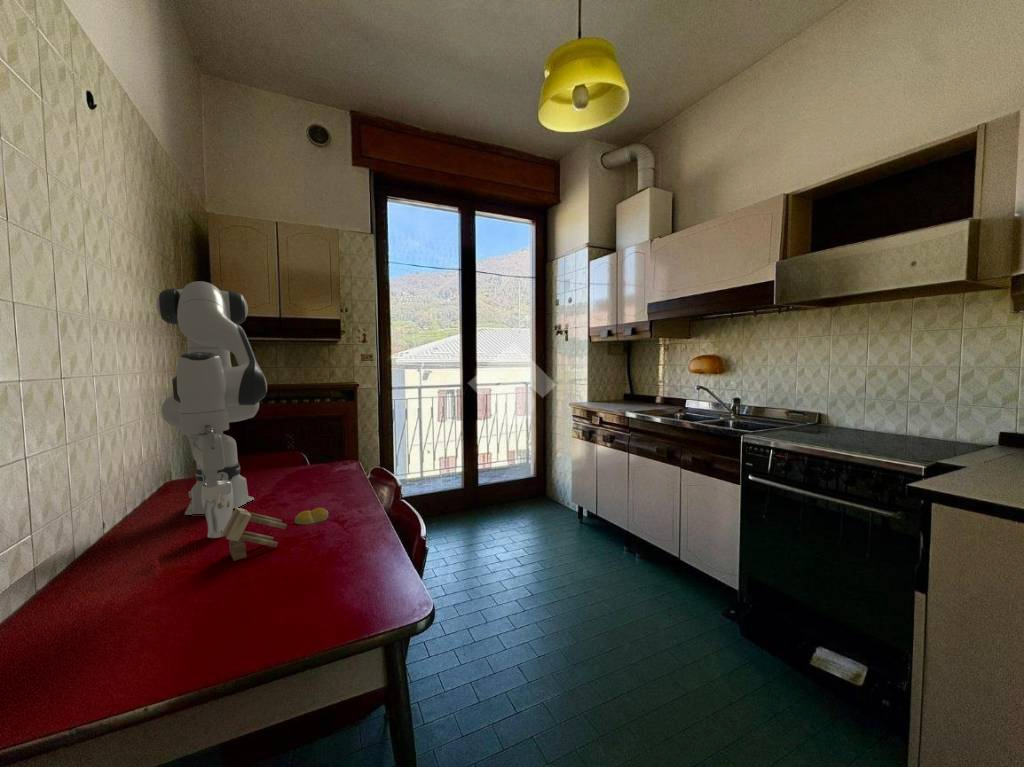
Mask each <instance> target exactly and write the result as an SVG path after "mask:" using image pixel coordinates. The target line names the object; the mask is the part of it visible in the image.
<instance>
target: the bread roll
mask: <svg viewBox="0 0 1024 767" xmlns="http://www.w3.org/2000/svg"><path fill="white" fill-rule="evenodd" d="M328 518H329V511H328V510H327V509H325V508H324V507H316V508H314V509H312V510H308V509H307V510H304V511H301V512H299V513H298V514H297V515H296V516H295V518H294V523H295V524H296V525H313V524H316V523H321V522H323V521H326V520H327V519H328Z"/></svg>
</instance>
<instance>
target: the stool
mask: <svg viewBox="0 0 1024 767" xmlns="http://www.w3.org/2000/svg"><path fill="white" fill-rule="evenodd" d="M249 522H252V523H256V524H260V525H265V526H268V527H274V528H279V529H283V530H285V529H286V528H287V523H284V522H283V520H282V519H279V518H276V517H271V516H267V515H264V514H263V515H262V514H259V513H255V512H251V511H248V510H247V509H244V508H242V507H240V508H237V507H236V508H235V510H233V512H232V516H231V518H230V519H229V521H228V523H227V525H226V527H225V529H224V531H223V534H224V535H225V536H224V537H225V538H226V540H229V541H232V540H233V541H239V540H242V541H244V542H249V543H253V544H259V545H263V546H267V547H273V548H277V546H278V545H279V542H278V541H275V540H274V536H269V535H265V534H260V533H256V532H252V531H246V527H247V525H248V524H249Z"/></svg>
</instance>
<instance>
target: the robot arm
mask: <svg viewBox="0 0 1024 767" xmlns="http://www.w3.org/2000/svg"><path fill="white" fill-rule="evenodd" d="M156 310H157V312H158V314H159V315H160V317H161V319H162V320H163V321H164V322H165V323H167V324H171V325H176V326H177V325H178V329H179V331H180V332H181V333H182V335H183V336H185V338H186V349H187V353H183V354H182V355H181V354H180V355H179V357H178V359H177V367H176V368H177V369H176V376H174V377H173V378H172V380H171V381H172V382H171V383H172V391H173V395H170V396H169V395H168V397H167V398H166V399H165V400H164V401H163V403H162V406H161V410H160V411H161V416H162V418H163V420H164V421H165V423H167V424H168V425H169V426H171V427H173V428H176V429H177V430H179V431H180V434H181V435H182V436H183V435H184V436H186V437H187V438H188V441H189V444H190V450H191V454H192V457H193V459H194V461H195V463H196V468H195V472H194V475H195V480H196V482H195V484H194V485H193V486H192V487H191V490H190V491H188V498H189V499H191V500H189V501H190V503H189V505H188V506H187V508H186V510H185V511H184V516H185V515H192V514H205V513H204V510H203V506H202V485H203V484H205V483H206V485H207V487H209V488H210V487H215V486H216V485H217V480H226V479H227V480H231V482H232V488H233V495H234V504H233V509H234V508H236V507H237V508H238V507H240V506H242V505H244V504H246V503H247V502H250V501H252V500H254V501H255V498H254V496H250V495H249V492H248V484H247V478H246V477H244V476H242V475H241V474H240V473H241V465H240V462H239V460H238V446H237V442H236V440H235V438H233V437H232V436H230V435H227V434H225V433H224V432H225V431H229V430H230V423H237V422H241V421H245V420H246V421H247V420H248V419H252V418H254V417H255V416H256V415H257V413H258V411H259V409H260V402H261V401H262V400H263V399H265V397H266V396H267V392H268V382H267V379H266V376H265V374H264V373H263V370H262V368H261V366H260V365H259V363H258V361H257V357H256V356H255V352H254V351H253V349H252V346H251V342H250V341H249V339H248V337H247V336H248V335H247V334H246V332H245V329H244V328H243V327H242V326H241V324H243V323H244V322H245V321H246V318H247V317H248V313H249V306H248V303H247V300H246V298H244V295H243V294H242V293H241V292H240V293H239V292H238V291H233V290H228V291H226V290H222V289H221V290H220V289H219V288H218V287H217V286H216V285H214V284H213V283H210V282H207V281H203V280H201V281H192V282H189V283H188V284H187V283H186V285H185V286H184V287H183V288H181V289H177V288H176V287H175V288H166V289H163V290H162V291H161V292H160V293H159V294H158V296H157V300H156ZM231 353H232V354H233V355H234V357H235V359H236V363H237V366H232V362H231V361H232V360H231ZM250 503H251V502H250ZM246 505H247V504H246ZM244 506H245V505H244ZM242 507H243V506H242ZM240 508H241V507H240ZM192 516H193V515H192Z"/></svg>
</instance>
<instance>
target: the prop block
mask: <svg viewBox="0 0 1024 767" xmlns="http://www.w3.org/2000/svg"><path fill="white" fill-rule="evenodd" d="M245 542H246V541H242V540H239V541H233V540H229V542H228V543H229V544H228V545H229V555H230V556H231V558H232V560H233V561H238V560H241V559H245V558H247V546H246V543H245Z"/></svg>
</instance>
